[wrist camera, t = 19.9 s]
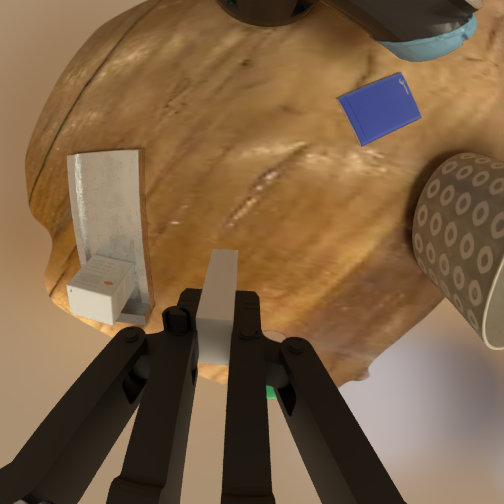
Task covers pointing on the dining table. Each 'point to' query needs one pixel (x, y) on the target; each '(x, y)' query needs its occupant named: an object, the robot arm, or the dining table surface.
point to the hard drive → (379, 108)
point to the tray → (113, 218)
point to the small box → (101, 289)
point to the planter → (465, 239)
